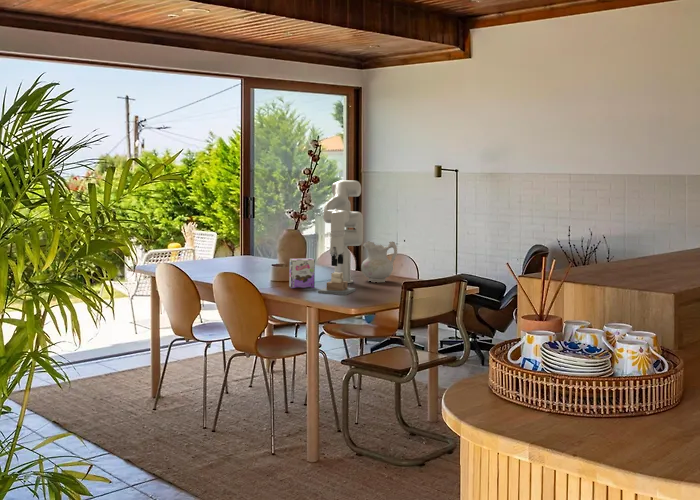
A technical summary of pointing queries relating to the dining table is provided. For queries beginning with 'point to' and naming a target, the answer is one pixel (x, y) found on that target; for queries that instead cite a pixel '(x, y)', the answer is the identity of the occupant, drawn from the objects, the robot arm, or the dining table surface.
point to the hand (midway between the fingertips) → (337, 264)
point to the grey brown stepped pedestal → (337, 288)
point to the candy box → (302, 273)
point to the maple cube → (336, 277)
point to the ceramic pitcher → (378, 262)
